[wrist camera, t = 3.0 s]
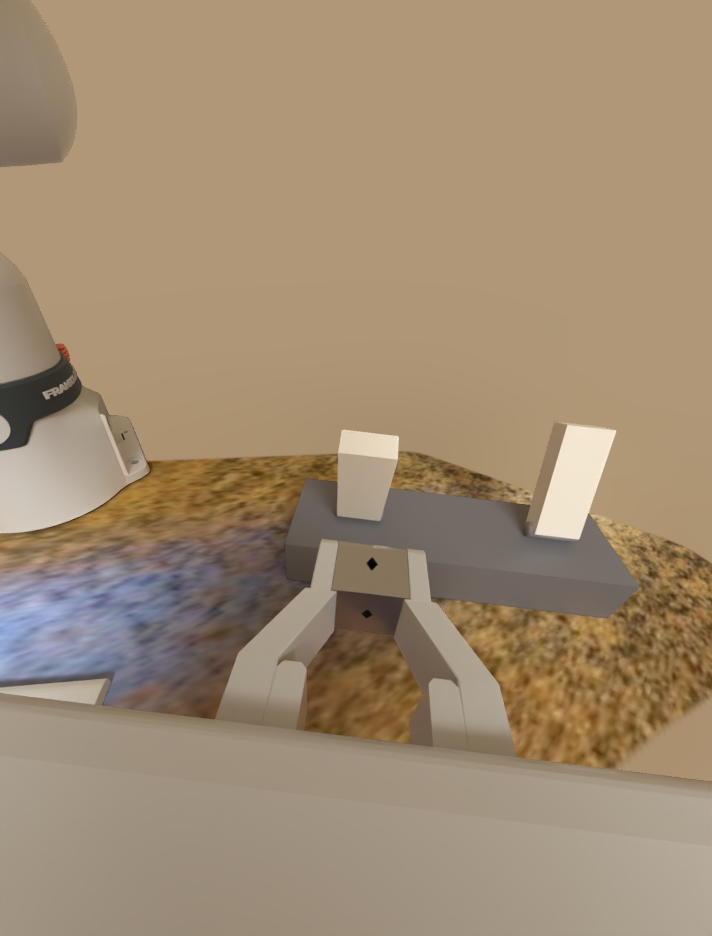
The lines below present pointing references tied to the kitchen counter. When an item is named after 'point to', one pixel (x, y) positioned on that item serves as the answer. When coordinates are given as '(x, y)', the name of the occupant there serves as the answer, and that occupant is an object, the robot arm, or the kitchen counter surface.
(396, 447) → the lever
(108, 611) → the kitchen counter surface
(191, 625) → the kitchen counter surface
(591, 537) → the switch box
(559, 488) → the lever
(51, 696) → the external hard drive
